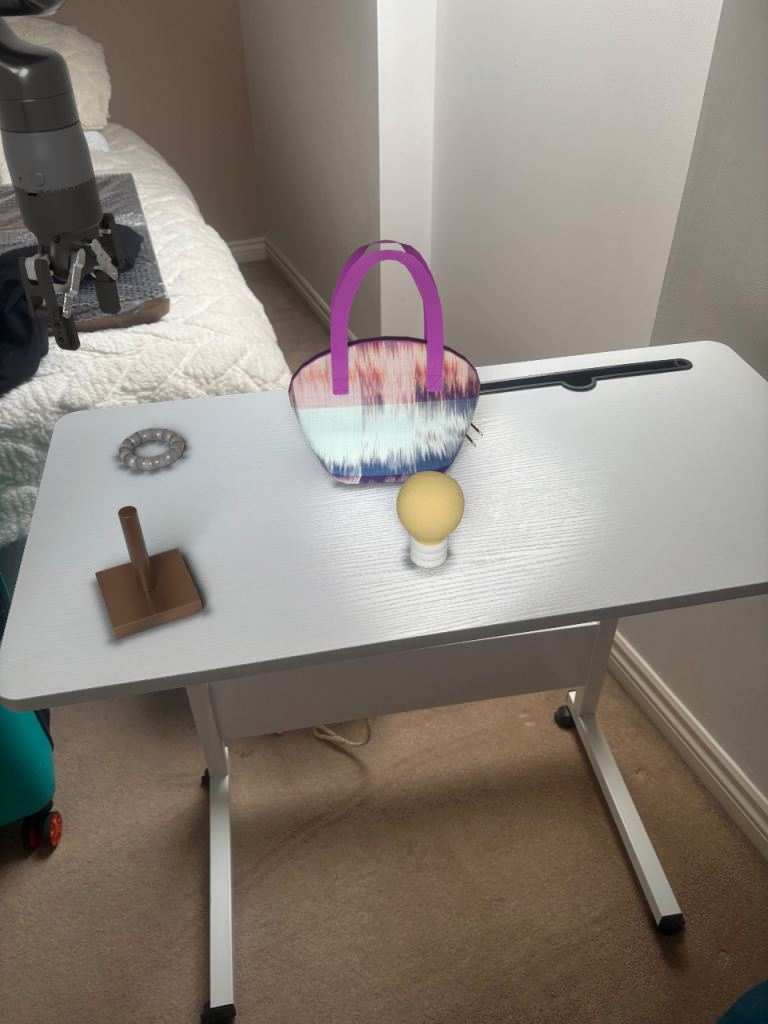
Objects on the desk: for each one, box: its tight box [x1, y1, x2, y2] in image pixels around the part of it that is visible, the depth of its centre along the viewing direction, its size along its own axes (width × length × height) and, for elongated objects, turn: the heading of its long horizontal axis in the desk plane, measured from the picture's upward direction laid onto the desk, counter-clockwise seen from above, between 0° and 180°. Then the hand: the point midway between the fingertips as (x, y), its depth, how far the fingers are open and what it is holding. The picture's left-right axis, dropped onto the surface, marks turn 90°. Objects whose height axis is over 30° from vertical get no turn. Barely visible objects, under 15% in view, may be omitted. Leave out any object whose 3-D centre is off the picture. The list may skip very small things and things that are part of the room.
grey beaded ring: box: [117, 427, 185, 471], centre depth 96 cm, size 7×7×1 cm
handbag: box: [287, 239, 484, 485], centre depth 87 cm, size 21×10×25 cm, turn 94°
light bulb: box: [395, 471, 466, 569], centre depth 79 cm, size 6×6×10 cm
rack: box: [94, 505, 204, 640], centre depth 75 cm, size 8×8×10 cm
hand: (91, 329), depth 89 cm, fingers open, 8 cm apart
